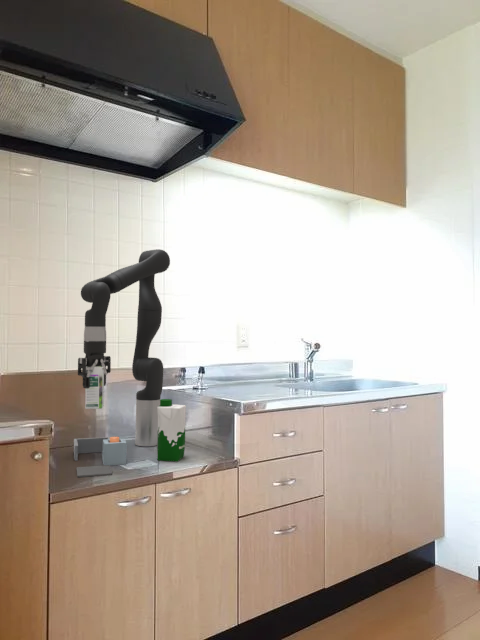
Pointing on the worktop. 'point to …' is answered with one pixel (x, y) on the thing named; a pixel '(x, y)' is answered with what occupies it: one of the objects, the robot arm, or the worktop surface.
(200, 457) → the worktop surface
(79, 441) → the grey u-shaped frame
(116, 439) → the plunger
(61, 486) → the worktop surface
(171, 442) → the milk carton
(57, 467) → the worktop surface
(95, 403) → the syrup box
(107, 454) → the grey square socket
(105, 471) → the mat
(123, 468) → the worktop surface
